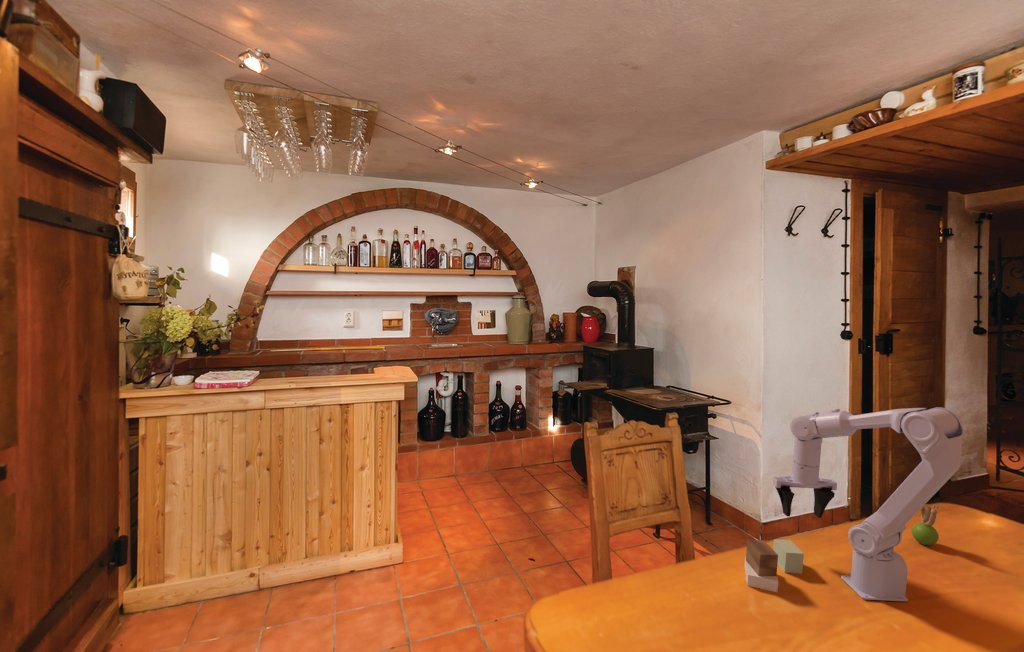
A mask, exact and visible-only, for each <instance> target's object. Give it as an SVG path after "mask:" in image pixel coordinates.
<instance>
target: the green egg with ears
mask: <svg viewBox="0 0 1024 652" xmlns="http://www.w3.org/2000/svg"><path fill="white" fill-rule="evenodd" d="M935 508H936V509H935ZM938 509H939V506H938V505H936V506H935V505H932V508H931V507H930V506H929V505H928V504H925V505H924V506H923V507H922V508H921V509H920V520H921V522H918V523H916V524H914V525H913V526H912V528H911V534H912V537H913V538H914V540H915V541H916V542H918V543H919V544H922V545H925V546H932V545H935V544H936V543H938V541H939V539H940V538H939V537H940V536H939V532H938V531H937V529H936V528H935V527H934V524H935V522H936V521H937V514H938Z"/></svg>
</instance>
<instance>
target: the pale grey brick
mask: <svg viewBox="0 0 1024 652" xmlns="http://www.w3.org/2000/svg"><path fill="white" fill-rule="evenodd" d="M744 572H745V579H746V580H745V581H746V586H747V587H750V588H756V589H759V588H760V589H759V590H765V591H769V592H774V593H778V591H779V590H778V589H779V579H778V578H779V577H778V575H777V576H758V575H757V573H756V572H755V571H754V570H753V569H752V567H751V566H750V565H749V564H748V562H747V561H746V555H745V556H744Z"/></svg>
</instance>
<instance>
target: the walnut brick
mask: <svg viewBox="0 0 1024 652" xmlns="http://www.w3.org/2000/svg"><path fill="white" fill-rule="evenodd" d="M745 550H746V551H745V552H746V554H745V556H746V561H747V562H748V564H749V565H750V566H751V567H752V569H753V570H754V571H755V572H756V573H757V575H758V576H777V577H778V574H777V573H778V564H777V563H778V554H777V553H776V552H775V551H774V550H773V547H771V546H770V545H769V544H768V543H767V542H766V541H765V540H761V539H760V540H759V539H758V540H755V539H754V540H752V539H751V540H749V539H747V540H746V549H745Z"/></svg>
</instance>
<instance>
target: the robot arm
mask: <svg viewBox="0 0 1024 652" xmlns="http://www.w3.org/2000/svg"><path fill="white" fill-rule="evenodd" d="M881 428H891V429H892V430H894V431H895V432H896V433H898V434H902V433H903V434H904V435H905V437H906V438H907V440H908V441H909V442H910V443H911V444H912V446H913V447H914V448H915V449H916V451H917V452H918V454H919V455H920V458H921V461H920V463H919V464H918V465H917V466H916V467H915V468H914V469H913V470H912V472H910V474H909V475H907V477H906V478H905V479H904V481H903V482H902V483H901V484H900V485H898V487H897V488H896V490H895V491H894V492H893V493H892V494H891V495H890V496H889V497H888V498H887V499H886V500H885V502H884V503H883V504H882V505H881V506H880V507H879V508H878V510H877V511H875V512H874V513H873V514H871V515H870V516H868V517H867V518H865V520H863V522H861V523H859V524H855V525H853V526H851V527H850V528H849V530H848V532H847V536H848V537H847V538H848V541H849V543H850V545H851V546H852V557H851V559H852V560H851V568H850V569H851V570H850V575H841V577H840V578H841V579H842V581H844V582H845V583H846V584H847V585H848V586H849V587H850V588H851V589H852V590H853V591H854V592H855V593H856V595H858V596H859V597H860V598H862V600H868V601H869V600H870V601H871V600H872V601H891V602H908V601H909V599H908V598H907V597H906V595H907V594H906V593H907V592H906V591H907V582H908V573H909V572H908V566H907V563H906V561H905V559H904V558H903V556H902V555H901V554H900V553H899V552H897V551H894V550H895V547H897V546H898V545H900V544H901V541H902V538H903V537H902V535H903V533H904V531H906V529H907V527H906V525H907V524H908V523H909V521H910V520H912V518H913V517H915V515H916V514H918V512H919V511H921V508H922V507H923V506H924V505H927V503H928V502H929V501H930V500H931V499H932V497H933V496H935V494H936V493H938V491H940V489H941V488H942V487H943V486H944V485H945V484H946V483H947V482H948V481H949V480H950V479H951V478H952V477H953V476H954V475H955V474H956V473H957V471H959V469H960V467H961V464H962V448H963V447H962V445H963V439H964V436H965V434H966V430H965V428H964V426H963V424H962V422H961V420H960V418H959V416H958V415H957V413H955V412H953V411H952V410H950V409H948V408H945V407H940V406H939V407H933V408H929V409H927V407H912V408H910V407H908V408H907V407H906V408H905V407H904V408H895V409H888V410H882V411H876V412H874V411H873V412H868V413H861V414H855V415H854V414H852V413H850V412H849V411H846V410H841V409H840V408H835V409H834V408H833V409H831V410H830V412H824V413H820V412H818V411H817V412H812V413H811V414H808V415H799V416H797V417H795V418H793V419H792V420H791V422H790V431H791V433H792V435H793V436H794V440H793V441H794V443H793V455H792V468H791V469H792V470H791V475H787V476H779V477H778V476H777V477H776V476H774V477H772V485H773V487H775V489H776V492H777V493H778V496H779V499H780V502H781V507H782V513H783V514H784V515H785V516H786V517H787V518H788V517H789V518H790V517H791V514H792V513H791V512H792V503H793V499H794V496H795V493H794V492H793V491H792V488H798V489H799V488H800V489H801V488H802V489H813V497H814V502H813V514H814V515H815V516H816V517H817V519H821V518H822V517H823V515H824V512H825V510H826V508H827V506H828V505H829V503H830V502H831V501H832V499H834V497H835V492H834V491H837V488H838V486H837V485H838V482H837V481H835V480H833V479H826V478H821V477H820V467H821V466H820V465H821V453H822V444H823V439H828V438H829V439H830V438H839V437H840V438H841V437H849V436H854V434H855V433H856V431H857V430H864V429H881Z"/></svg>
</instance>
